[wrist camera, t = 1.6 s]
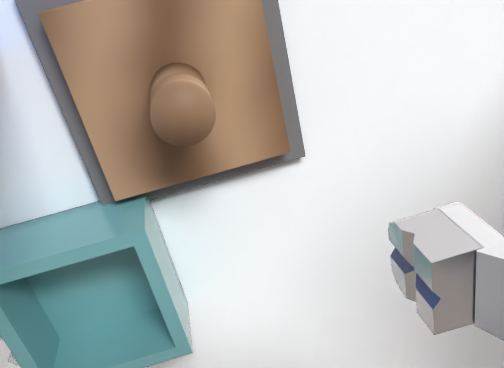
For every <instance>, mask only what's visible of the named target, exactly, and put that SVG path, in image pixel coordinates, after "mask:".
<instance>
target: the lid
mask: <svg viewBox="0 0 504 368" xmlns="http://www.w3.org/2000/svg"><path fill="white" fill-rule="evenodd" d="M38 14H39V17H40V19H41V21H42V24H43V26H44V29H45V31H46V34H47V36H48V38H49V41H50V43H51V46H52V48H53V51H54V53H55V56H56V58H57V60H58V63H59V65H60V68H61V70H62V73H63V75H64V77H65V80H66V82H67V85H68V87H69V90H70V92H71V94H72V97H73V99H74V102H75V104H76V107H77V109H78V112H79V114H80V116H81V119H82V121H83V124H84V126H85V129H86V131H87V133H88V136H89V138H90V141H91V143H92V146H93V148H94V150H95V153H96V155H97V158H98V160H99V163H100V165H101V168H102V170H103V172H104V175H105V177H106V180H107V182H108V185H109V187H110V189H111V192H112V194H113V197H114V199H115V201H118V200H122V199H125V198H129V197H132V196H136V195H139V194H143V193H147V192H150V191H154V190H157V189H161V188H165V187H168V186H172V185H175V184H179V183H182V182H186V181H190V180H193V179H197V178H200V177H204V176H207V175H211V174H215V173H218V172H222V171H225V170H229V169H233V168H236V167H240V166H243V165H247V164H250V163H254V162H258V161H261V160H265V159H268V158H272V157H275V156H279V155H283V154H286V153H290V146H289V141H288V136H287V131H286V126H285V120H284V115H283V110H282V105H281V100H280V94H279V89H278V84H277V79H276V74H275V68H274V63H273V58H272V53H271V48H270V42H269V37H268V32H267V27H266V22H265V16H264V11H263V6H262V1H261V0H83V1H79V2H75V3H71V4H67V5H63V6H59V7H55V8H51V9H47V10H43V11H41V12H40V13H38Z"/></svg>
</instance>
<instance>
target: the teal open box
mask: <svg viewBox="0 0 504 368" xmlns="http://www.w3.org/2000/svg"><path fill="white" fill-rule="evenodd" d="M0 336H1V338H2V339H3V341H4V342H5V344H6V345H7V347H8V348H9V349H10V351H11V353H12V355H13V356H14V358H15V359H16V361H17V362H18V364H19V365H20V367H21V368H145V367H148V366H151V365H155V364H158V363H161V362H165V361H168V360H171V359H174V358H178V357H181V356H184V355H188V354H191V353H193V351H192V341H191V331H190V322H189V312H188V302H187V300H186V297H185V294H184V292H183V289H182V286H181V283H180V281H179V278H178V275H177V273H176V270H175V267H174V264H173V262H172V259H171V256H170V254H169V251H168V248H167V246H166V243H165V240H164V237H163V235H162V232H161V229H160V227H159V224H158V221H157V218H156V216H155V213H154V210H153V208H152V205H151V202H150V200H148V199H147V196H146V194H145V193H144V194H140V195H136V196H133V197H129V198H126V199H122V200H119V201H115V202H111V203H108V204H104V205H102V203H101V201H98V202H94V203H91V204H87V205H84V206H80V207H76V208H73V209H69V210H66V211H62V212H59V213H55V214H51V215H48V216H44V217H41V218H37V219H33V220H30V221H26V222H23V223H19V224H15V225H12V226H8V227H5V228H1V229H0Z"/></svg>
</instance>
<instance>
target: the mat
mask: <svg viewBox="0 0 504 368" xmlns="http://www.w3.org/2000/svg"><path fill="white" fill-rule="evenodd" d="M79 1H83V0H15V2H16V5H17V7H18V10H19V12H20V14H21V17H22V19H23V21H24V24H25V26H26V28H27V31H28V33H29V35H30V38H31V40H32V42H33V45H34V47H35V49H36V52H37V54H38V56H39V59H40V61H41V63H42V66H43V68H44V70H45V73H46V75H47V77H48V80H49V82H50V84H51V87H52V89H53V91H54V94H55V96H56V98H57V101H58V103H59V105H60V108H61V110H62V112H63V115H64V117H65V119H66V122H67V124H68V126H69V129H70V131H71V133H72V136H73V138H74V140H75V143H76V145H77V147H78V150H79V152H80V154H81V157H82V159H83V161H84V164H85V166H86V168H87V171H88V173H89V175H90V178H91V180H92V182H93V185H94V187H95V189H96V192H97V194H98V196H99V199H100V201H101V203H102V205H104V204H108V203H111V202H115V199H114V197H113V194H112V192H111V189H110V187H109V185H108V182H107V180H106V177H105V175H104V172H103V170H102V168H101V165H100V163H99V160H98V158H97V155H96V153H95V150H94V148H93V146H92V143H91V141H90V138H89V136H88V133H87V131H86V129H85V126H84V124H83V121H82V119H81V116H80V114H79V112H78V109H77V107H76V104H75V102H74V99H73V97H72V94H71V92H70V90H69V87H68V85H67V82H66V80H65V77H64V75H63V73H62V70H61V68H60V65H59V63H58V60H57V58H56V56H55V53H54V51H53V48H52V46H51V43H50V41H49V38H48V36H47V34H46V31H45V29H44V26H43V24H42V21H41V19H40V17H39V14H38V13H40V12H41V11H43V10H47V9H51V8H55V7H59V6H63V5H67V4H71V3H75V2H79ZM261 1H262V6H263V11H264V16H265V22H266V27H267V32H268V37H269V42H270V48H271V53H272V58H273V63H274V68H275V74H276V79H277V84H278V89H279V94H280V100H281V105H282V110H283V115H284V120H285V126H286V131H287V136H288V141H289V146H290V153H286V154H283V155H279V156H275V157H272V158H268V159H265V160H261V161H258V162H254V163H250V164H247V165H243V166H240V167H236V168H233V169H229V170H225V171H222V172H218V173H215V174H211V175H207V176H204V177H200V178H197V179H193V180H190V181H186V182H182V183H179V184H175V185H172V186H168V187H165V188H161V189H157V190H154V191H150V192H147V193H145V194H146V196H147V199H148V200H151V199H155V198H158V197H162V196H165V195H169V194H173V193H176V192H180V191H183V190H187V189H190V188H194V187H198V186H201V185H205V184H208V183H212V182H215V181H219V180H222V179H226V178H230V177H233V176H237V175H240V174H244V173H247V172H251V171H255V170H258V169H262V168H265V167H269V166H272V165H276V164H280V163H283V162H287V161H290V160H294V159H297V158H301V157H304V156H305V151H304V145H303V140H302V134H301V128H300V123H299V117H298V111H297V106H296V100H295V94H294V89H293V83H292V77H291V72H290V66H289V60H288V55H287V49H286V43H285V38H284V32H283V26H282V21H281V15H280V9H279V4H278V0H261ZM143 194H144V193H143ZM139 195H140V194H139ZM132 197H133V196H132ZM125 199H126V198H125ZM118 201H119V200H118Z"/></svg>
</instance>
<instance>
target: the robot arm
mask: <svg viewBox="0 0 504 368" xmlns="http://www.w3.org/2000/svg"><path fill="white" fill-rule="evenodd" d="M388 233H389V240H390V241H391V242H392V244H393V245H394V246H395V249H394V251H393V252H392V254H391V256H390V257H391V265H392V271H393V274H394V277H395V280H396V282H397V284H398V286H399V288H400V290H401V291H402V293H403V294H404V295H405V297H406V298H408V299H410V300H413V301H415V302H416V305H417V313H418V314H419V316H420V317H421V318H422V320H423V321H424V322H425V324H426V325H427V326H428V328H429V329H430V330H431V332H432V333H433V334H434V335H436V334H439V333H443V332H446V331H450V330H453V329H457V328H460V327H464V326H467V325H471V324H474V323H475V326H477V327H479V328H480V329H482V330H484V331H486V332H488V333H490V334H492V335H494V336H496V337H498V338H500V339H502V340H504V236H502V235H501V234H500V233H499V232H497V231H496V230H495V229H494V228H492V227H491V226H490V225H489V224H487V223H486V222H485V221H484V220H482V219H481V218H480V217H479V216H477V215H476V214H475V213H474V212H472V211H471V210H470V209H469V208H467V207H466V206H465V205H464V204H462V203H460V202H453V203H450V204H447V205H444V206H440V207H437V208H434V210H431V211H427V212H424V213H421V214H417V215H414V216H410V217H407V218H404V219H400V220H397V221H394V222H390V223H389V228H388ZM10 353H11V351H10V349H9V348H8V347H7V345H6V344H5V342H4V341H3V340H1V339H0V368H21V367H19V366H17V365H15V364H13V363H10V362H8V360H9V356H10Z"/></svg>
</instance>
